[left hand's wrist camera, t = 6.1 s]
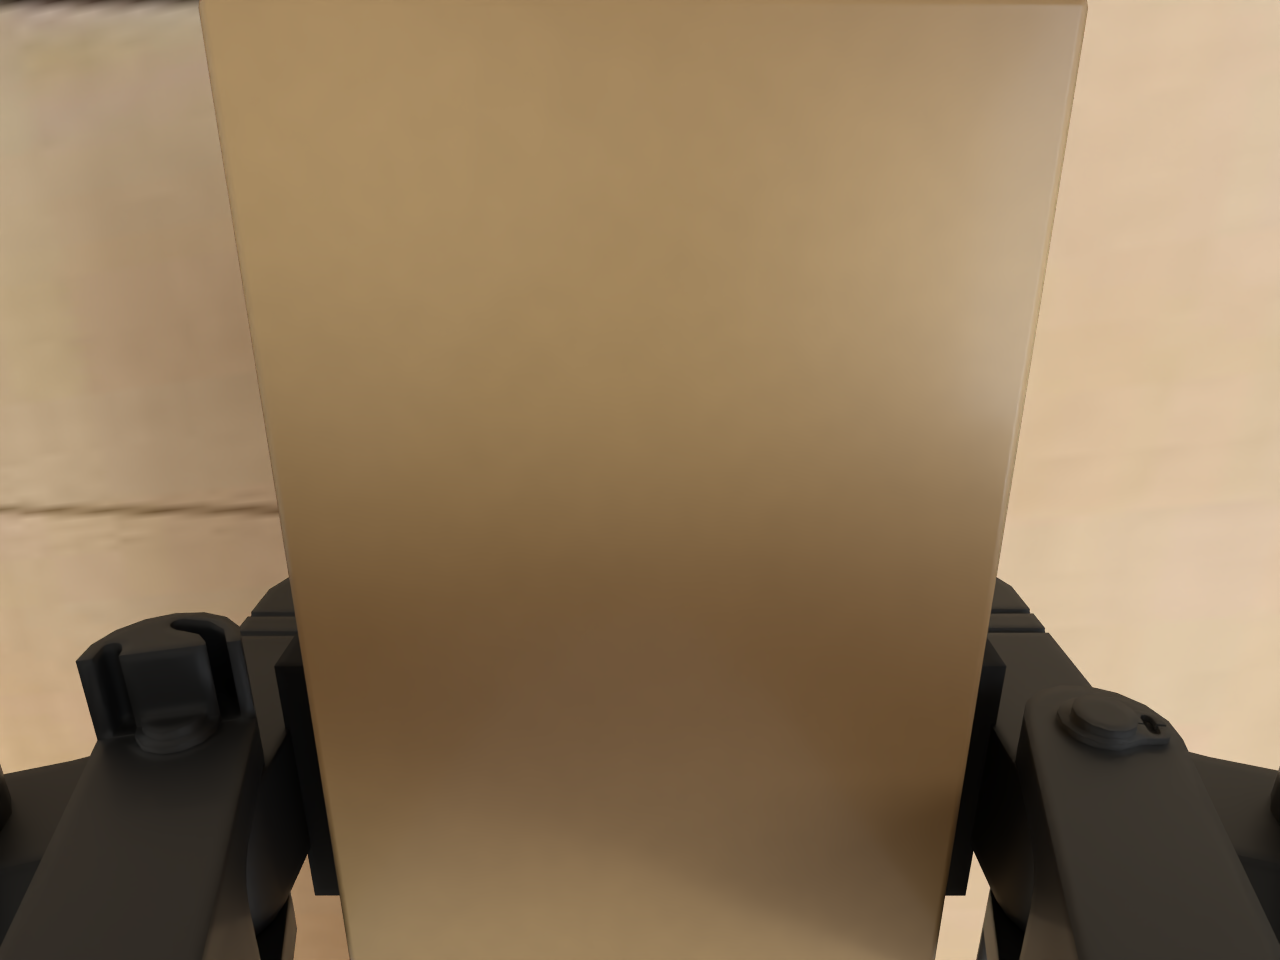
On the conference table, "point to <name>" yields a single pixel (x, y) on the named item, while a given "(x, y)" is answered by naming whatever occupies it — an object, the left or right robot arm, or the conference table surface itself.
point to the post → (642, 446)
